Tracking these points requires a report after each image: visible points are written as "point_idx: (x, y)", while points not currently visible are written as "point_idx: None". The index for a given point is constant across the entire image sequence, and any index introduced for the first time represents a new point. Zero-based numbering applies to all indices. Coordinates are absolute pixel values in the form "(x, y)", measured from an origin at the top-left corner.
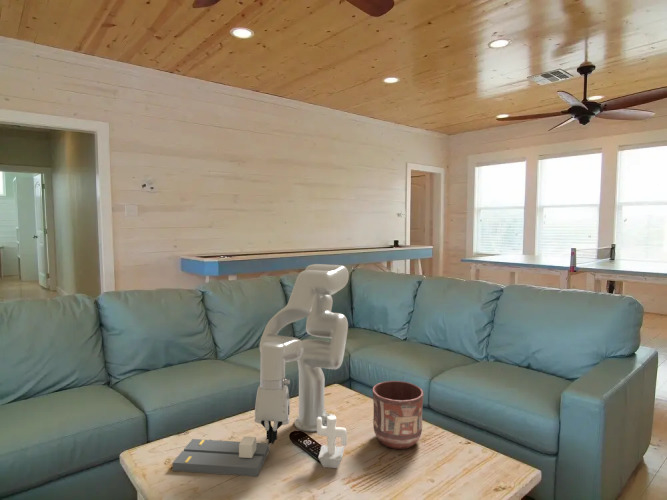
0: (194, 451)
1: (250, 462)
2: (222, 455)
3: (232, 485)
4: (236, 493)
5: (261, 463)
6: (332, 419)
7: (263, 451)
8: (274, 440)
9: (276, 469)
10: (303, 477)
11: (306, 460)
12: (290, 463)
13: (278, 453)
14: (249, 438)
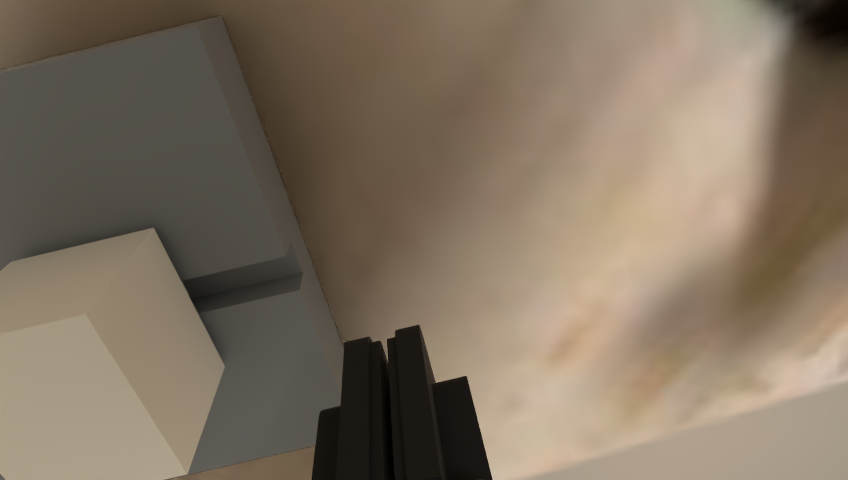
0: None
1: (252, 399)
2: None
3: None
4: None
5: (320, 313)
6: None
7: (249, 217)
8: (433, 378)
9: (456, 273)
10: (694, 287)
11: (683, 55)
12: (542, 157)
13: (351, 29)
14: (27, 376)
